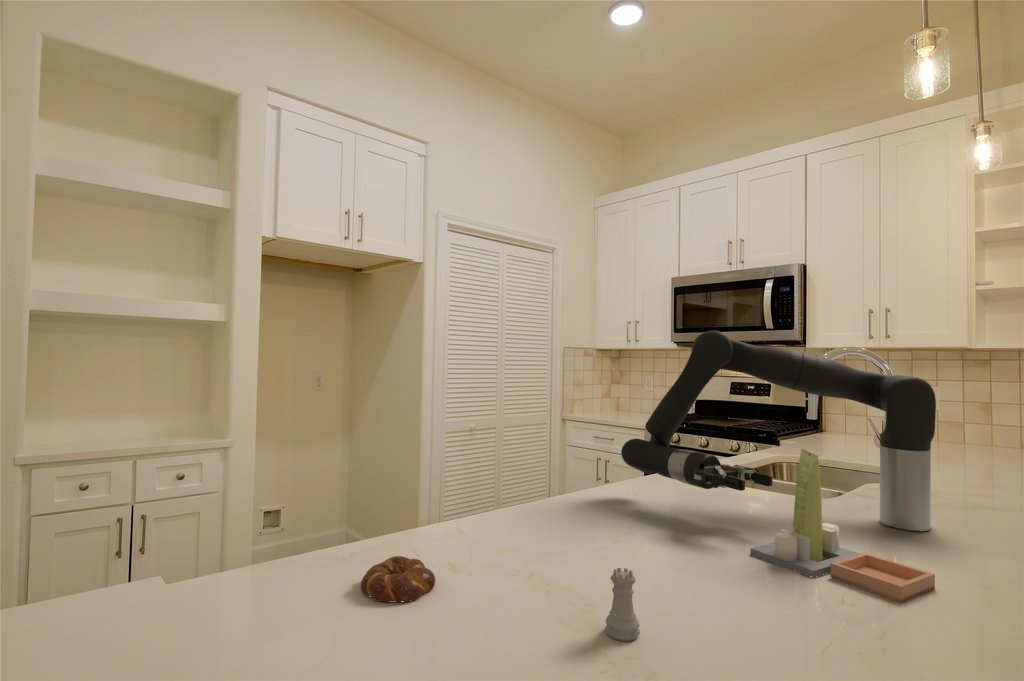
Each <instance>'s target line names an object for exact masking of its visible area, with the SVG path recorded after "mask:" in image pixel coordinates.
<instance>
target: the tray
mask: <svg viewBox="0 0 1024 681" xmlns="http://www.w3.org/2000/svg"><path fill="white" fill-rule="evenodd" d="M831 577H832V578H831ZM830 578H831V579H833V578H834V579H833V580H835V579H836V581H838V580H839V582H842V583H844V584H847V585H849V586H852V585H853V587H855V586H856V587H855V588H858V587H859V589H861V590H864V591H867V592H870V593H872V594H875V595H878V596H881V597H883V598H886V599H889V600H892V601H895V602H896V603H897V602H898V603H901V604H903V603H905V602H907V601H910V600H912V599H916V598H917V597H919V596H922V595H924V594H926V593H929V592H932V591H934V590H936V573H932V572H929V571H925V570H922V569H919V568H916V567H913V566H909V565H906V564H903V563H899V562H896V561H893V560H889V559H886V558H882V557H880V556H876V555H873V554H870V553H867V552H863V553H860V554H859V555H856V556H853V557H849V558H846V559H843V560H839V561H836V562H833V563H831V573H830Z"/></svg>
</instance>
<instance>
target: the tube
mask: <svg viewBox="0 0 1024 681" xmlns="http://www.w3.org/2000/svg"><path fill="white" fill-rule="evenodd" d="M800 451H801V452H800V455H799V460H798V466H797V474H796V475H797V476H796V482H795V483H796V484H795V495H794V508H793V521H792V522H793V525H792V527H793V528H792V532H794V533H798V534H801V535H804V536H807V537H810V560H813V561H816V562H820V561H823V556H822V523H823V507H822V506H823V505H822V485H821V472H820V471H821V470H820V462H819V455H818V454H815V453H813V452H811V451H809V450H807V449H805V448H803V447H801V449H800Z"/></svg>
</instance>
